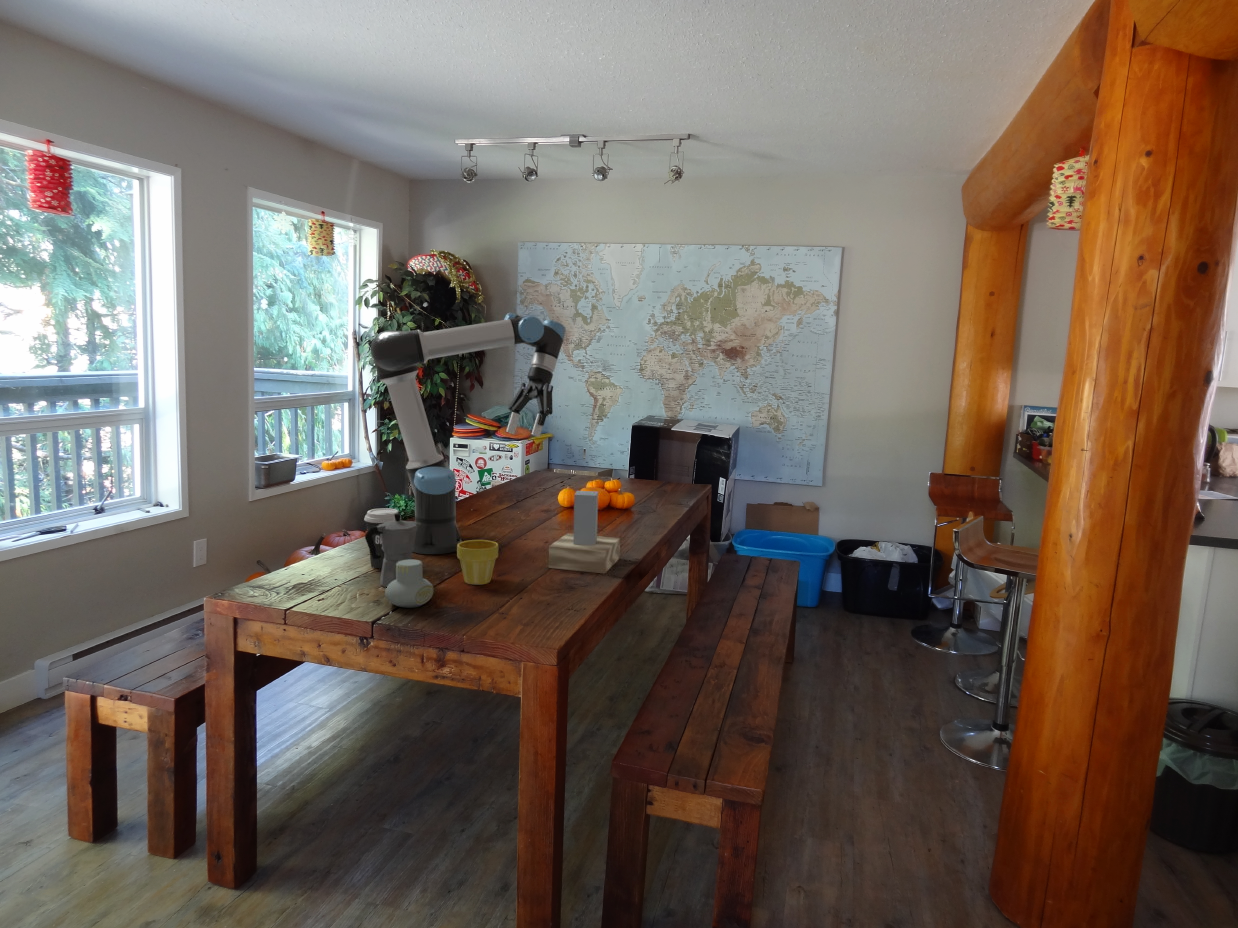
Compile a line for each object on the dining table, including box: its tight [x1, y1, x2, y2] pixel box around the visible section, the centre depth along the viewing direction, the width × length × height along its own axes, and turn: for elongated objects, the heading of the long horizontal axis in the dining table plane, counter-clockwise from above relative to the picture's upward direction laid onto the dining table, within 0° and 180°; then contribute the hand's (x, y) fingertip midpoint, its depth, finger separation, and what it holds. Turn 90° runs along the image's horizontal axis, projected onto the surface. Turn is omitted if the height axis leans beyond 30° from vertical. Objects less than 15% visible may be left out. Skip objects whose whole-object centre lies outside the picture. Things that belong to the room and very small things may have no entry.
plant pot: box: [456, 539, 499, 586], centre depth 202 cm, size 10×10×10 cm
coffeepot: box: [364, 512, 421, 588], centre depth 197 cm, size 15×9×18 cm, turn 137°
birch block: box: [548, 533, 621, 574], centre depth 221 cm, size 16×16×6 cm
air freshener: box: [384, 559, 435, 609], centre depth 183 cm, size 11×8×10 cm
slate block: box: [573, 490, 599, 545], centre depth 220 cm, size 6×6×14 cm
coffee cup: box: [363, 507, 402, 570], centre depth 213 cm, size 10×10×15 cm
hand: (522, 434), depth 243 cm, fingers open, 13 cm apart
